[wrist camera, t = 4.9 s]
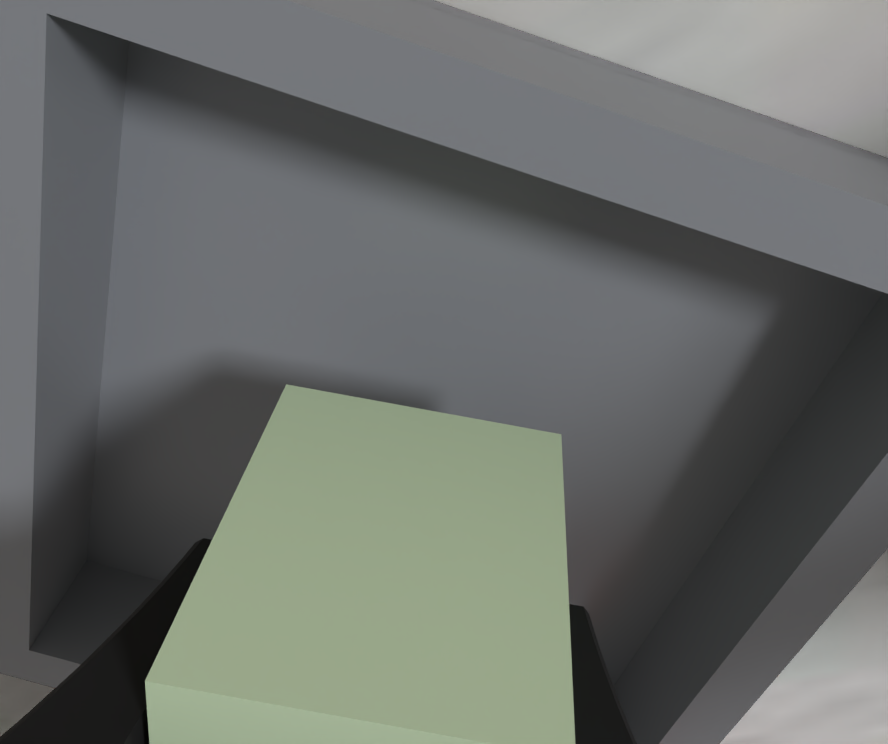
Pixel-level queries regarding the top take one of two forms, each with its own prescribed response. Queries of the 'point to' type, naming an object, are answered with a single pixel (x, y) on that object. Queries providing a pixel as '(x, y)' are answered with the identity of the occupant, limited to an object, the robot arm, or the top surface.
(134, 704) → the robot arm
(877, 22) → the top surface
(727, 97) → the top surface
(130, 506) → the tray
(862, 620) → the top surface
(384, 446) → the green block
